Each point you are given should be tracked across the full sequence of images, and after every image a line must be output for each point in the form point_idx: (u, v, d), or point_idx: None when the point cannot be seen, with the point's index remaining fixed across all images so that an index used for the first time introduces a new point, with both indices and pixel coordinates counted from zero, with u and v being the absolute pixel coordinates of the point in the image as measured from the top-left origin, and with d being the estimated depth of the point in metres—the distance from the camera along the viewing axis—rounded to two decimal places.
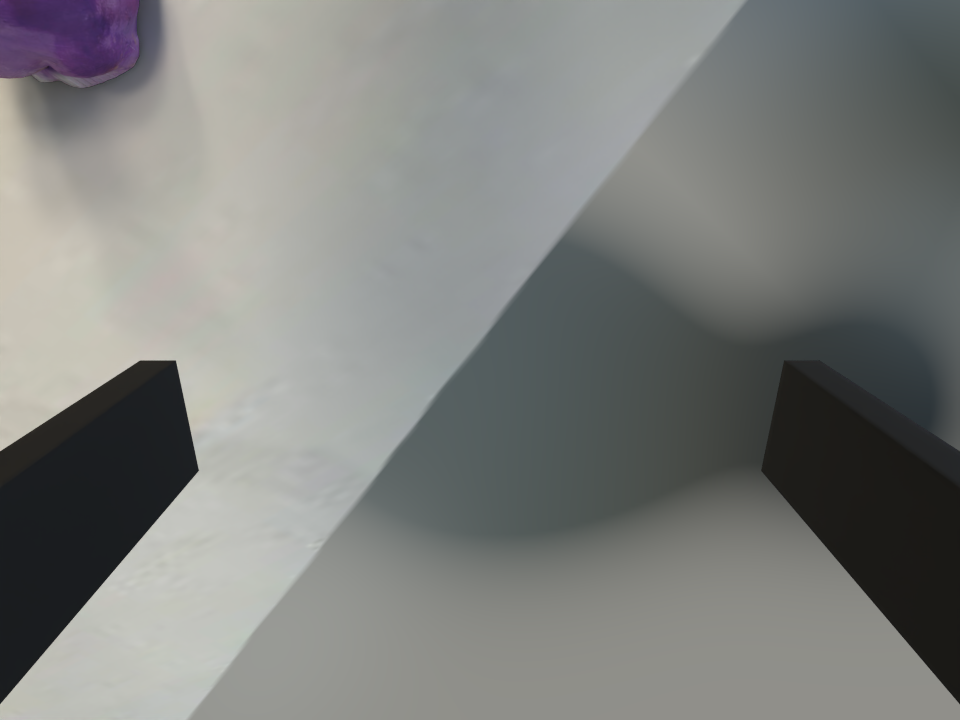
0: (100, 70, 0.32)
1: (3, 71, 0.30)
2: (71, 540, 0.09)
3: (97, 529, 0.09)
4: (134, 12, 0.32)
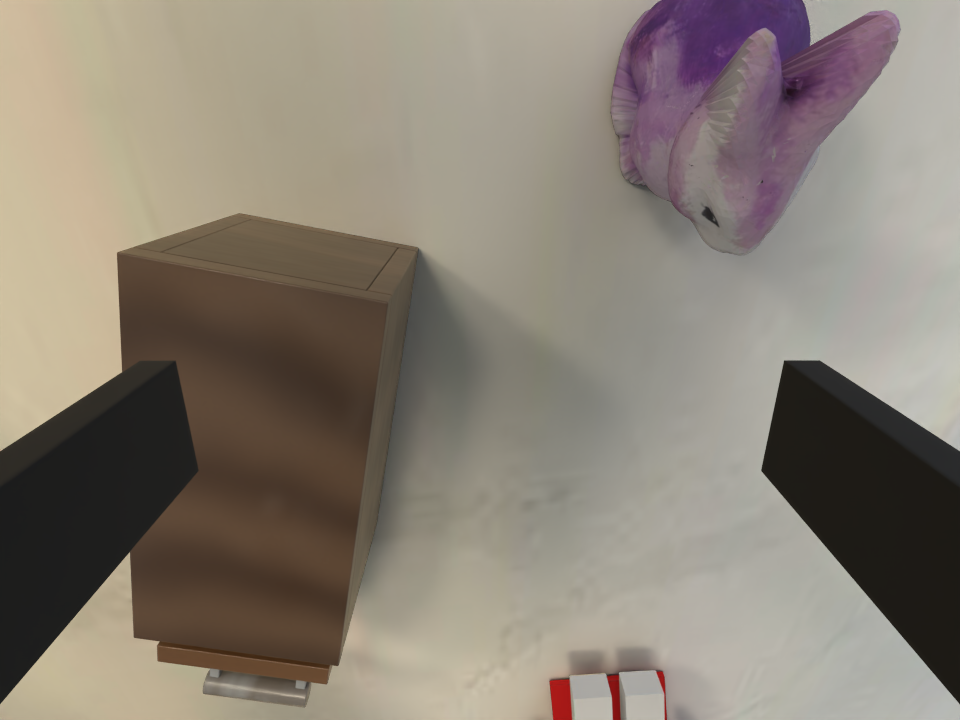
0: None
1: None
2: (72, 540, 0.09)
3: (97, 529, 0.09)
4: None
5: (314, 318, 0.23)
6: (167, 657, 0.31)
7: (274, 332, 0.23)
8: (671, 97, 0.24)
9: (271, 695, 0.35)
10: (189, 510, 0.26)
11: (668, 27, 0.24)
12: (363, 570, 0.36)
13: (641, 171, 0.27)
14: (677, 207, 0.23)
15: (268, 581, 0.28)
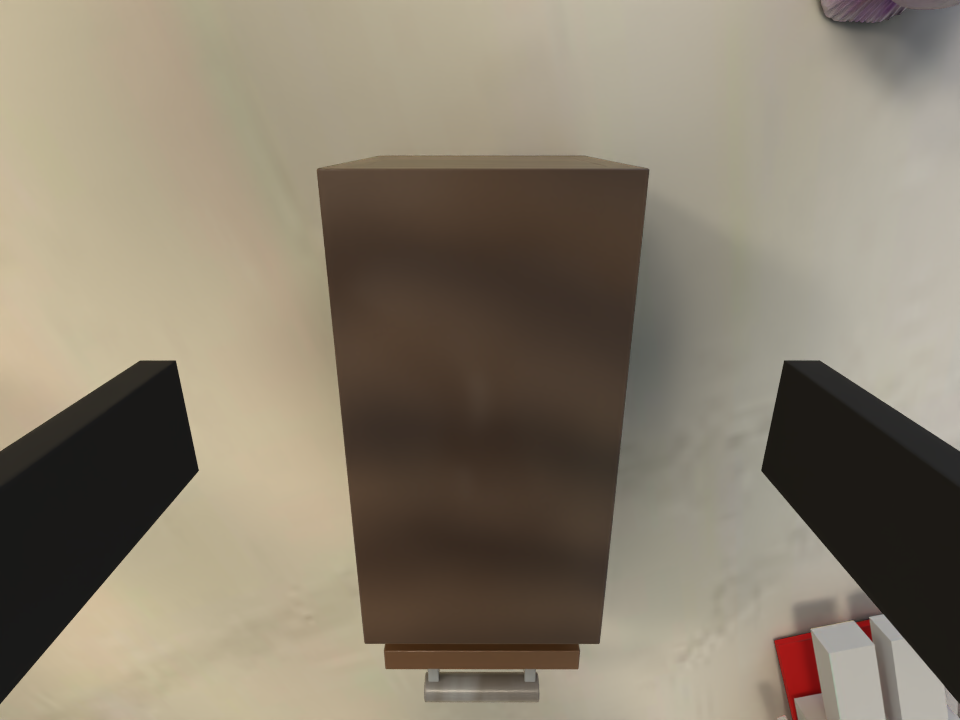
0: None
1: None
2: (71, 540, 0.09)
3: (97, 529, 0.09)
4: None
5: (558, 208, 0.18)
6: (396, 662, 0.27)
7: (510, 236, 0.19)
8: None
9: (500, 693, 0.31)
10: (419, 481, 0.22)
11: None
12: None
13: None
14: None
15: (514, 553, 0.23)
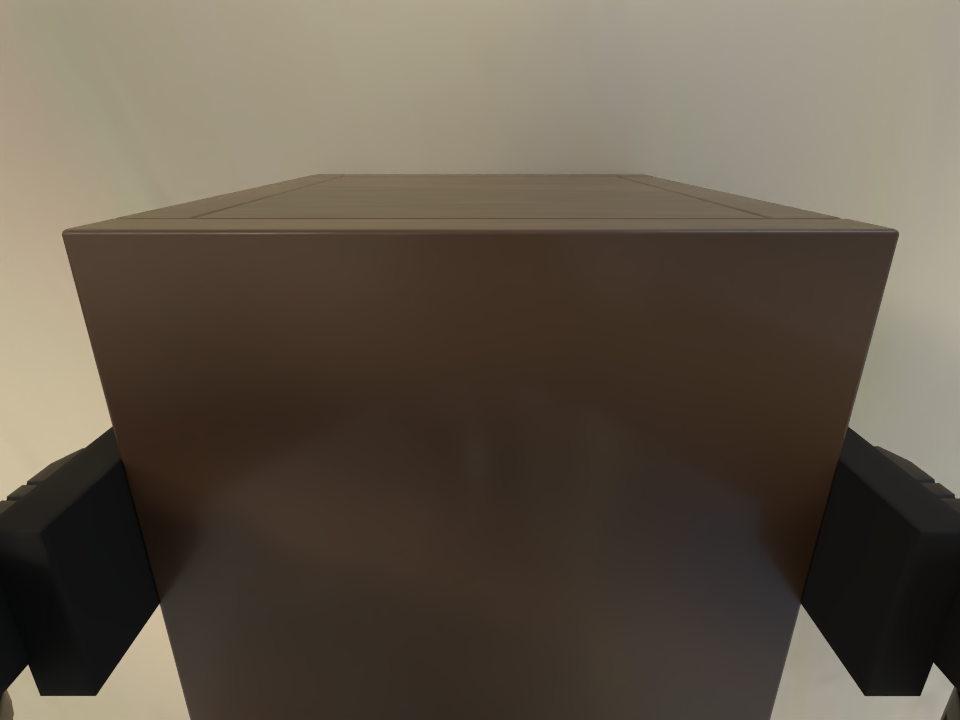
0: None
1: None
2: None
3: None
4: None
5: (664, 324, 0.07)
6: None
7: (545, 386, 0.08)
8: None
9: None
10: None
11: None
12: None
13: None
14: None
15: None
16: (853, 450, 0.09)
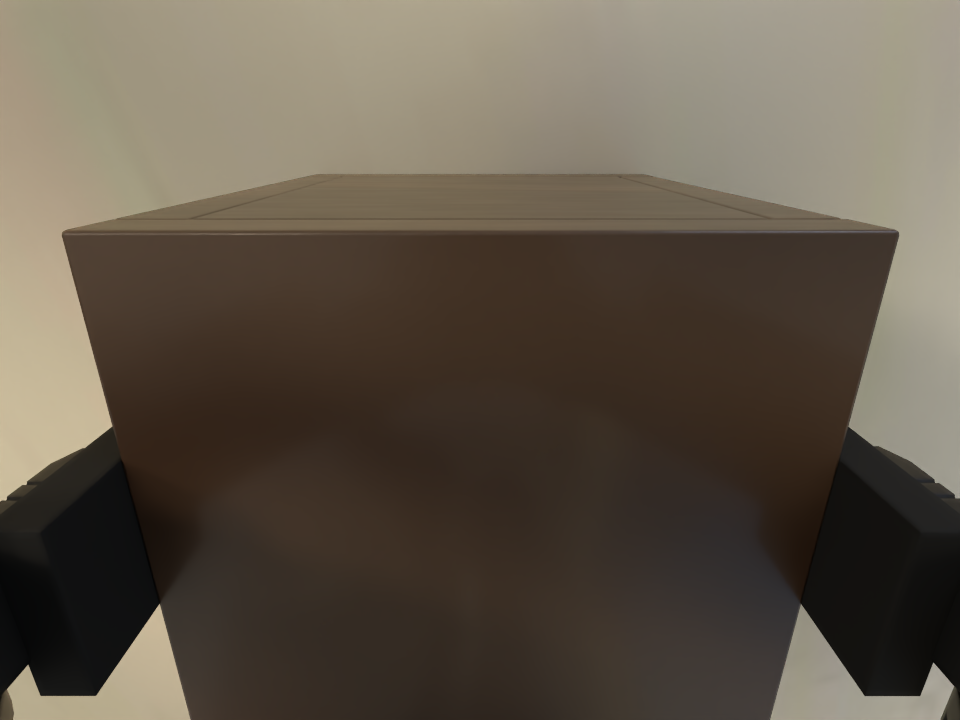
0: None
1: None
2: None
3: None
4: None
5: (664, 324, 0.07)
6: None
7: (545, 386, 0.08)
8: None
9: None
10: None
11: None
12: None
13: None
14: None
15: None
16: (853, 450, 0.09)
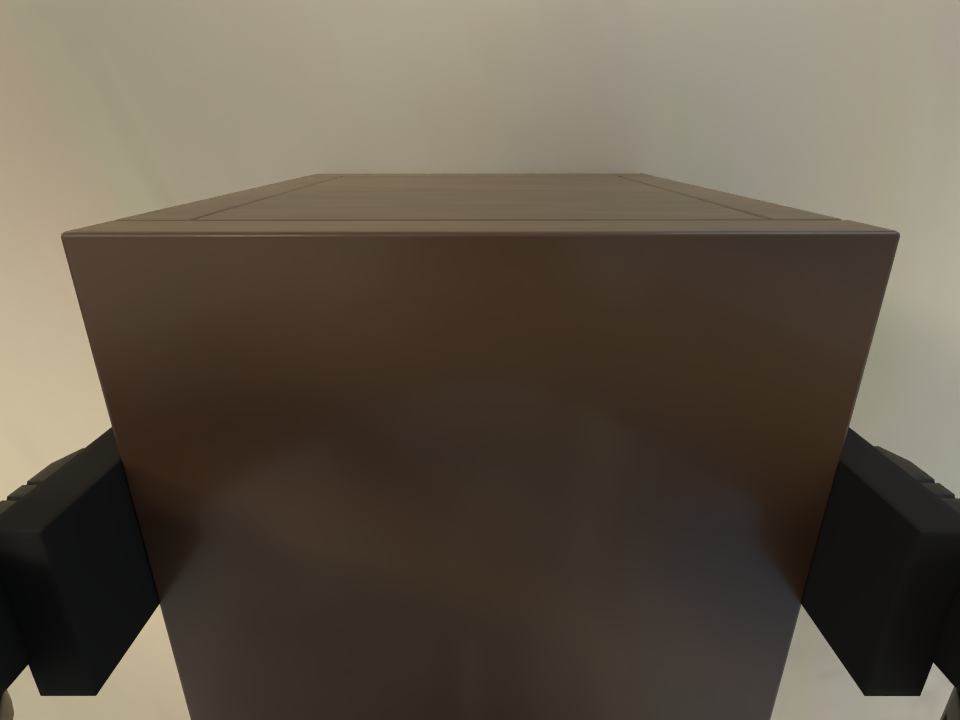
0: None
1: None
2: None
3: None
4: None
5: (665, 326, 0.07)
6: None
7: (545, 388, 0.08)
8: None
9: None
10: None
11: None
12: None
13: None
14: None
15: None
16: (853, 450, 0.09)
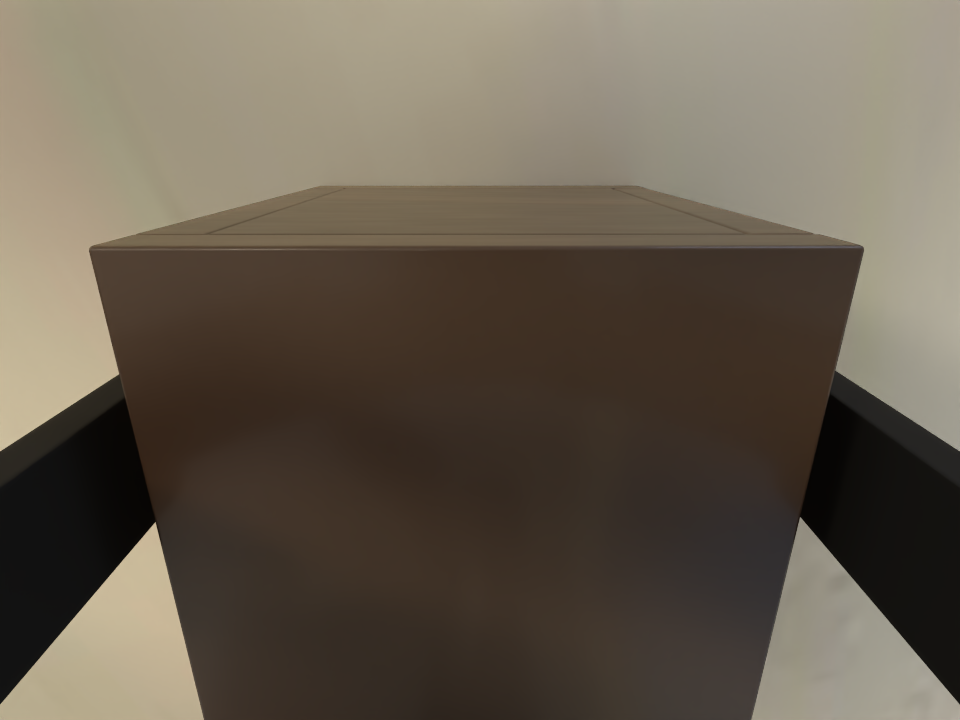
0: None
1: None
2: (72, 540, 0.09)
3: (97, 529, 0.10)
4: None
5: (648, 332, 0.08)
6: None
7: (537, 390, 0.08)
8: None
9: None
10: None
11: None
12: None
13: None
14: None
15: None
16: None
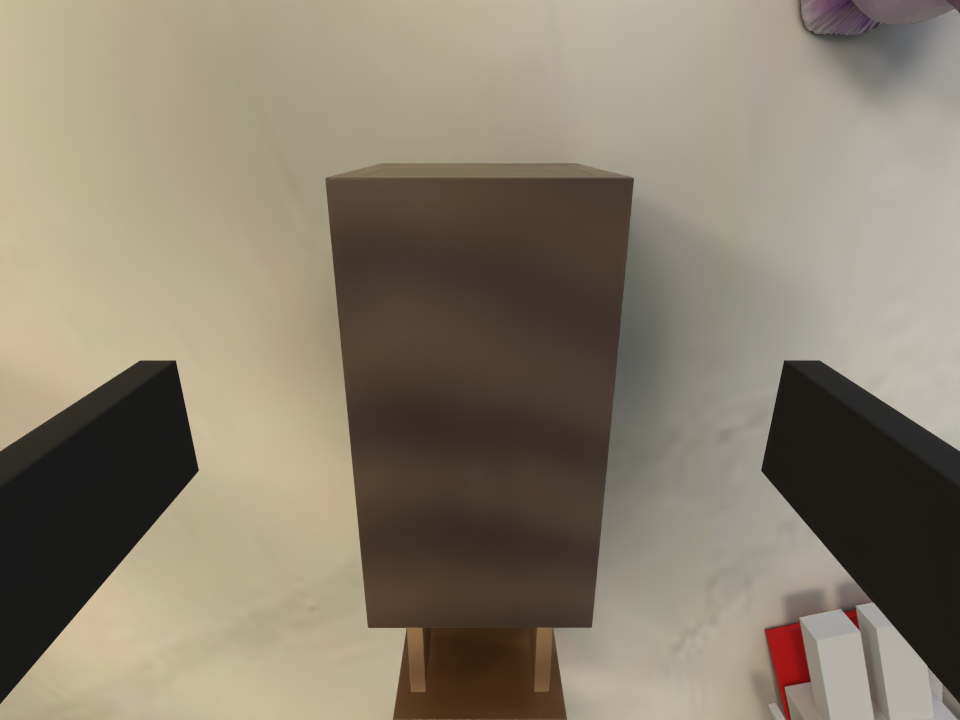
0: None
1: None
2: (72, 539, 0.09)
3: (97, 529, 0.09)
4: None
5: (549, 214, 0.20)
6: None
7: (505, 240, 0.20)
8: None
9: None
10: (420, 471, 0.23)
11: None
12: None
13: None
14: None
15: (510, 540, 0.25)
16: None
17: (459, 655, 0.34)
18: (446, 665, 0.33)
